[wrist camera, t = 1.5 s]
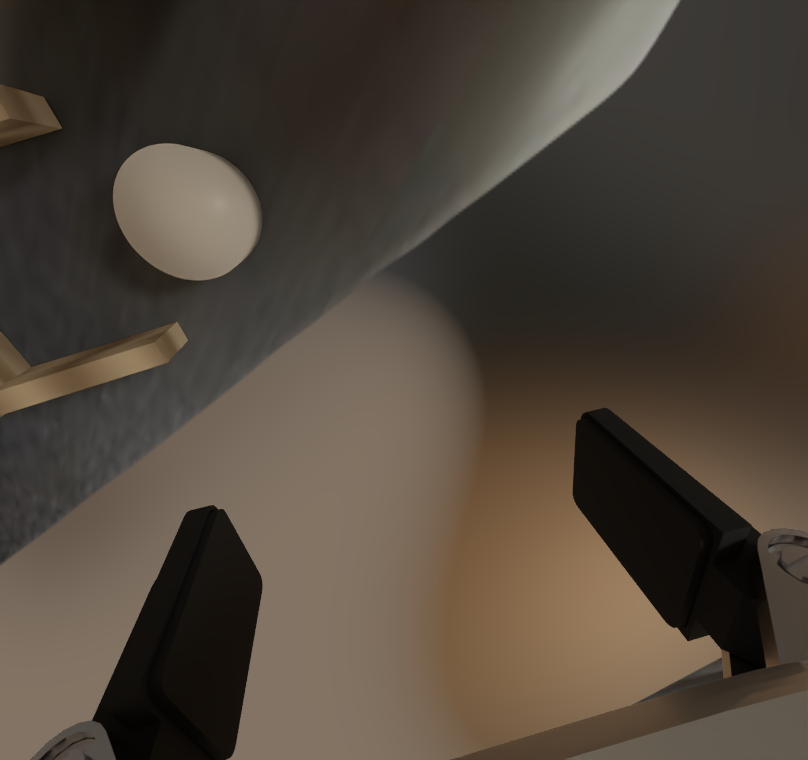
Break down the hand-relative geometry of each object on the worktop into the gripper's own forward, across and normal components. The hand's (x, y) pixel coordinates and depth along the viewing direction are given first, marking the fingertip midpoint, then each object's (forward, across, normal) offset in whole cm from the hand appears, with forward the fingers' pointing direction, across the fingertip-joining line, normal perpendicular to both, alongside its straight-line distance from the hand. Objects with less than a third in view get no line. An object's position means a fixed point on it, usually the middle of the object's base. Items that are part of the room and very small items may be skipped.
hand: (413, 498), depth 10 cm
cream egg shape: (+21, +8, -7) cm, 24 cm away
